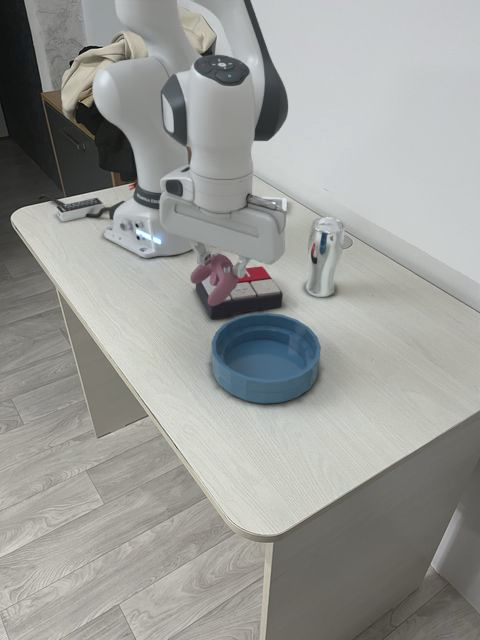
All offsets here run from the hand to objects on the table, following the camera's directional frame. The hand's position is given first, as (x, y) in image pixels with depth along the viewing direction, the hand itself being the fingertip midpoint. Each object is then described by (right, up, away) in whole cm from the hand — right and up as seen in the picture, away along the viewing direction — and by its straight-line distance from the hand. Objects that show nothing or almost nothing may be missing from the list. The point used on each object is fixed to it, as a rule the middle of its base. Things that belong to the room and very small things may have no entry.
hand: (221, 269), depth 86 cm
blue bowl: (+7, -16, +9) cm, 19 cm away
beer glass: (+19, 0, +29) cm, 34 cm away
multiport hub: (-39, +21, +51) cm, 68 cm away
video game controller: (-1, -3, +4) cm, 5 cm away
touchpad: (+5, +25, +58) cm, 63 cm away
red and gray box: (+2, -2, +25) cm, 25 cm away
